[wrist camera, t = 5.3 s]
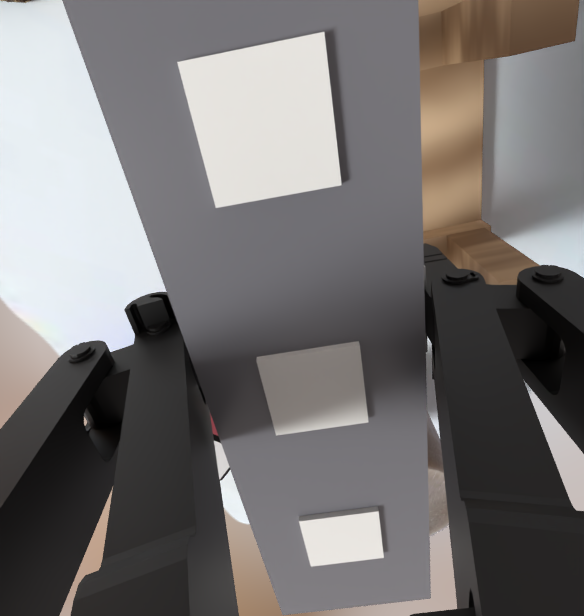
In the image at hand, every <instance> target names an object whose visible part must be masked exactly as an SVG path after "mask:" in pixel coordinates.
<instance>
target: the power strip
mask: <svg viewBox="0 0 584 616" xmlns="http://www.w3.org/2000/svg"><path fill="white" fill-rule="evenodd" d="M62 1H63V4H64V6H65V9H66V12H67V15H68V18H69V20H70V23H71V26H72V29H73V31H74V34H75V37H76V40H77V43H78V45H79V48H80V51H81V54H82V57H83V59H84V62H85V65H86V68H87V71H88V73H89V76H90V79H91V82H92V84H93V87H94V90H95V93H96V96H97V98H98V101H99V104H100V107H101V110H102V112H103V115H104V118H105V121H106V124H107V126H108V129H109V132H110V135H111V137H112V140H113V143H114V146H115V149H116V151H117V154H118V157H119V160H120V163H121V165H122V168H123V171H124V174H125V177H126V179H127V182H128V185H129V188H130V190H131V193H132V196H133V199H134V202H135V204H136V207H137V210H138V213H139V216H140V218H141V221H142V224H143V227H144V230H145V232H146V235H147V238H148V241H149V243H150V246H151V249H152V252H153V255H154V257H155V260H156V263H157V266H158V269H159V271H160V274H161V277H162V280H163V283H164V285H165V288H166V291H167V294H168V296H169V299H170V302H171V305H172V308H173V310H174V313H175V316H176V319H177V322H178V324H179V327H180V330H181V333H182V336H183V338H184V341H185V344H186V347H187V349H188V352H189V355H190V358H191V361H192V363H193V366H194V369H195V372H196V375H197V377H198V380H199V383H200V386H201V389H202V391H203V394H204V397H205V400H206V402H207V405H208V408H209V411H210V414H211V416H212V419H213V422H214V425H215V428H216V430H217V433H218V436H219V439H220V442H221V444H222V447H223V450H224V453H225V455H226V458H227V461H228V464H229V467H230V469H231V472H232V475H233V478H234V481H235V483H236V486H237V489H238V492H239V495H240V497H241V500H242V503H243V506H244V508H245V511H246V514H247V517H248V520H249V522H250V525H251V528H252V531H253V533H254V536H255V539H256V542H257V545H258V548H259V550H260V553H261V556H262V559H263V561H264V564H265V567H266V570H267V572H268V575H269V578H270V581H271V584H272V587H273V589H274V592H275V595H276V598H277V600H278V603H279V606H280V608H281V611H282V614H283V615H289V614H298V613H307V612H315V611H324V610H333V609H341V608H351V607H359V606H368V605H377V604H386V603H394V602H403V601H412V600H421V599H430V598H431V594H430V593H431V592H430V591H431V590H430V541H429V493H428V444H427V396H426V347H425V299H424V250H423V202H422V153H421V105H420V56H419V8H418V0H62Z"/></svg>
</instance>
